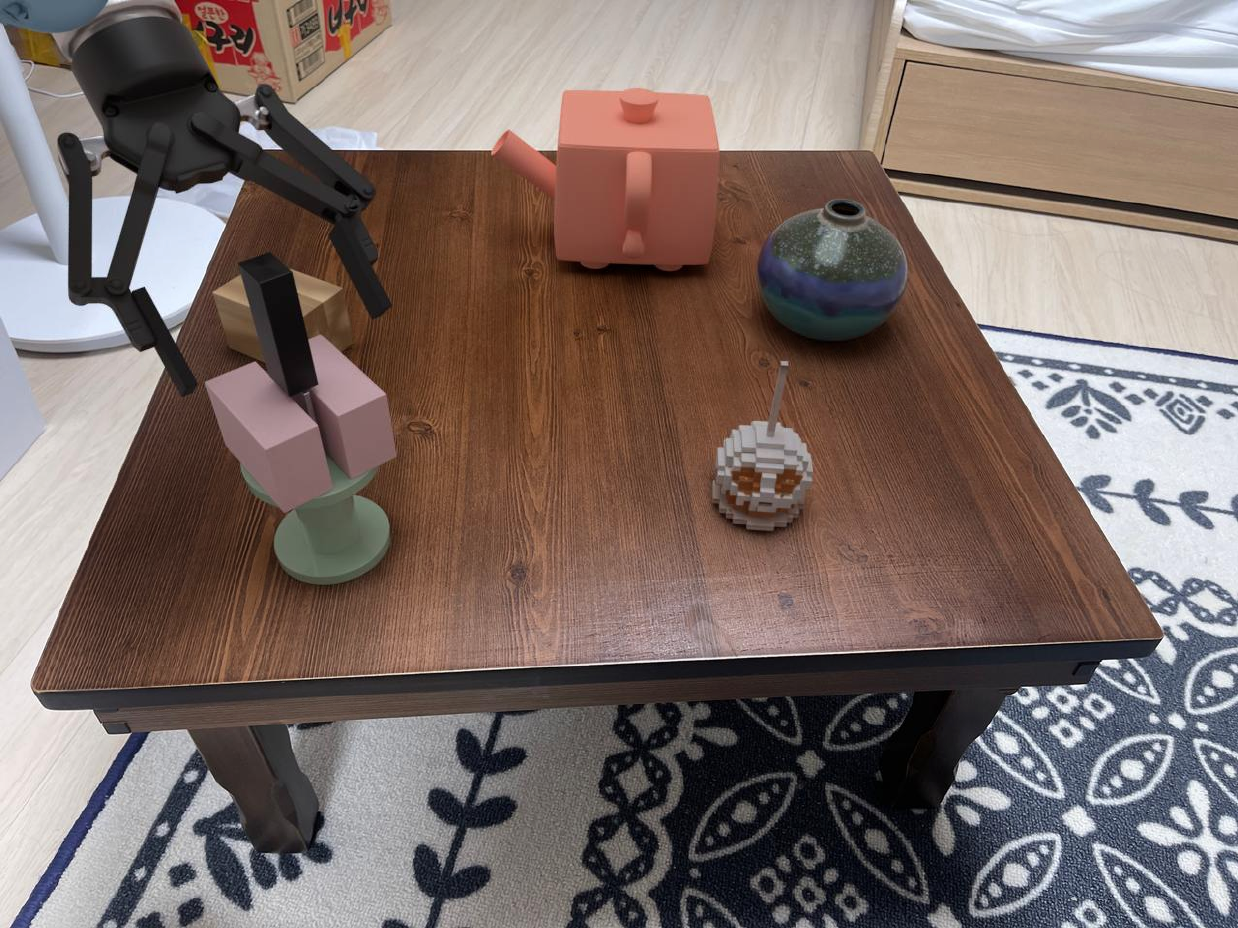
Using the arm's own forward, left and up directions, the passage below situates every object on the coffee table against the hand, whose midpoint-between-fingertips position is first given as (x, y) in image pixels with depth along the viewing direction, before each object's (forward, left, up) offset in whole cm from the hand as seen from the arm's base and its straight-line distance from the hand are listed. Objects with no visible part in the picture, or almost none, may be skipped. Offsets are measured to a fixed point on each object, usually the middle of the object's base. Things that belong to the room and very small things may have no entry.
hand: (291, 350), depth 61 cm
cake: (0, +1, -10) cm, 10 cm away
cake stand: (0, +1, -20) cm, 20 cm away
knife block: (+10, +27, -20) cm, 35 cm away
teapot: (+48, +23, -20) cm, 57 cm away
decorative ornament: (+30, -18, -20) cm, 40 cm away
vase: (+56, -4, -20) cm, 60 cm away
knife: (0, +1, -10) cm, 10 cm away
